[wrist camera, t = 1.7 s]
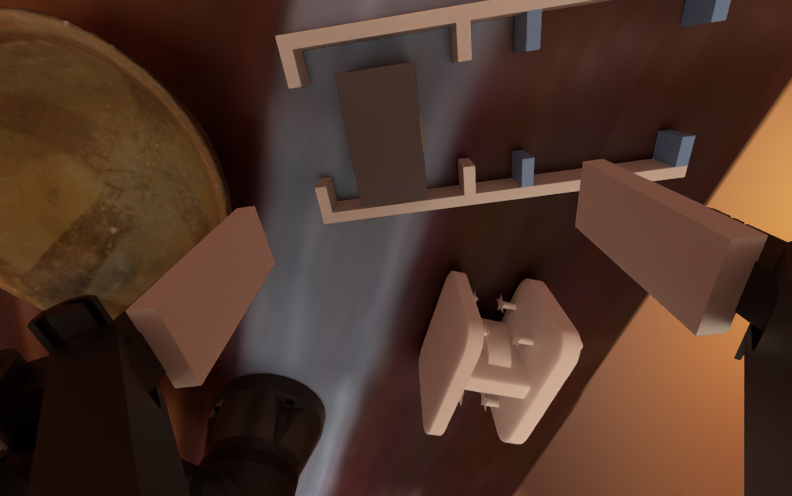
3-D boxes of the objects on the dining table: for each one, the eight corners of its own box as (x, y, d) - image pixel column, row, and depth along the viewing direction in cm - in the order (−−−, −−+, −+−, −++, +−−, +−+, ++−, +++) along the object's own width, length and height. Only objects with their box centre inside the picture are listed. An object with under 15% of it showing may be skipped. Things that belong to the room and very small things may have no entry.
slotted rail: (329, 211, 34) (322, 227, 31) (284, 29, 27) (268, 24, 24) (660, 167, 32) (691, 179, 29) (708, -42, 25) (756, -58, 22)
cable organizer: (450, 253, 37) (472, 326, 27) (542, 272, 38) (596, 349, 28) (415, 354, 44) (422, 443, 34) (494, 367, 45) (523, 457, 35)
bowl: (-5, 179, 33) (-151, 222, 24) (82, -48, 25) (-89, -109, 16) (205, 304, 40) (151, 372, 31) (324, 157, 32) (298, 193, 23)
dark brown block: (367, 176, 33) (360, 207, 26) (348, 71, 29) (333, 74, 22) (421, 169, 33) (429, 198, 26) (410, 62, 28) (415, 61, 21)
